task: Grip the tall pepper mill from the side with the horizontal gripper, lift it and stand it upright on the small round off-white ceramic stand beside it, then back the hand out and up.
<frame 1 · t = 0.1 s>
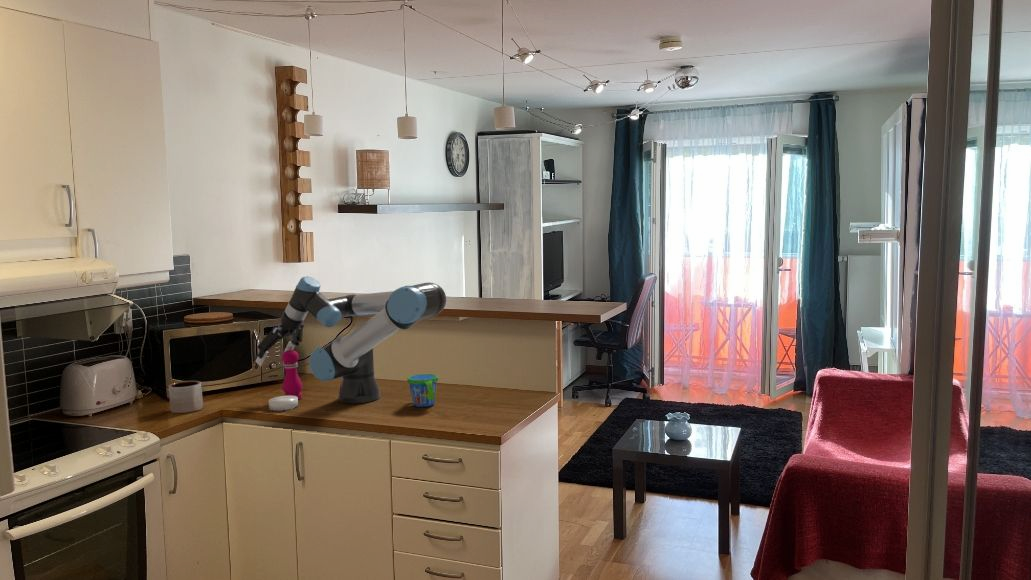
hand: (272, 360, 286), 15 cm above the countertop, tool tilted 35°, fingers open, 13 cm apart
pepper mill: (293, 399, 290), on the countertop, touching gripper
planter: (187, 410, 279), on the countertop
ceramic stand: (283, 407, 278), on the countertop
snack cup: (424, 405, 274), on the countertop
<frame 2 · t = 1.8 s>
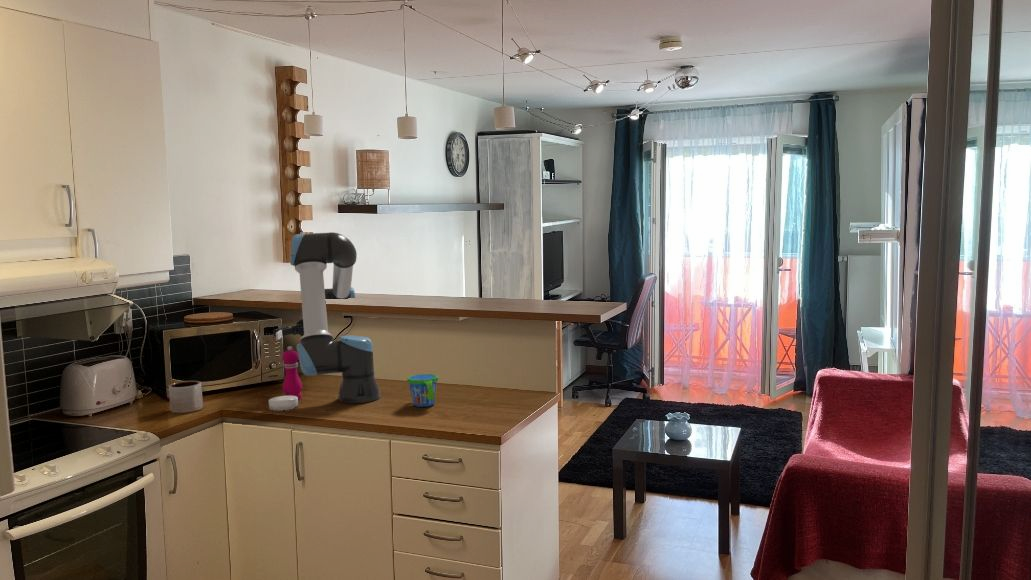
hand: (295, 335, 296), 22 cm above the countertop, tool horizontal, fingers open, 13 cm apart
pepper mill: (293, 399, 290), on the countertop
everything else where it was.
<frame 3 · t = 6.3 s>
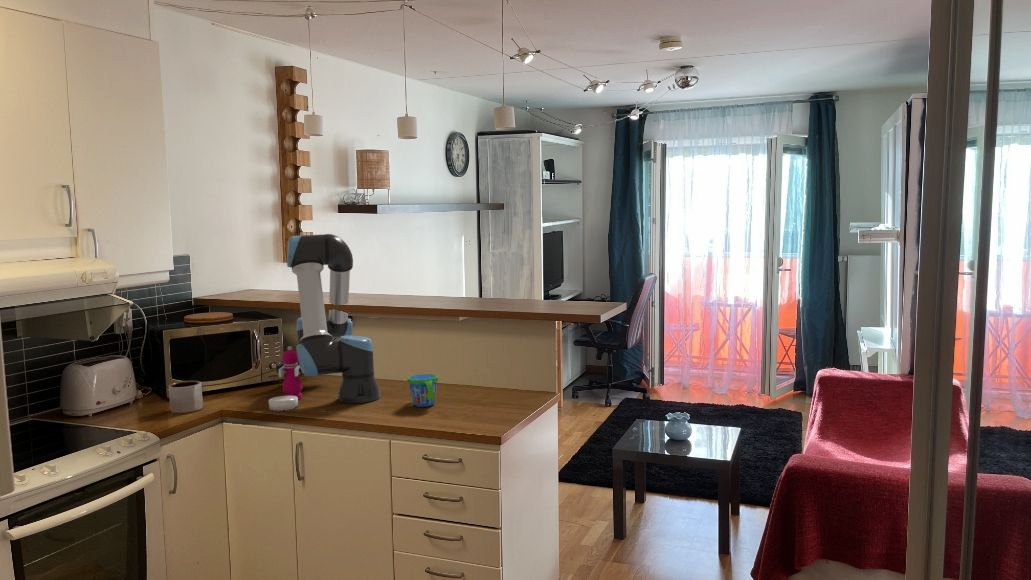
hand: (287, 373, 283), 11 cm above the countertop, tool horizontal, fingers closed on pepper mill, 5 cm apart
pepper mill: (293, 399, 290), on the countertop, touching gripper
everything else where it was.
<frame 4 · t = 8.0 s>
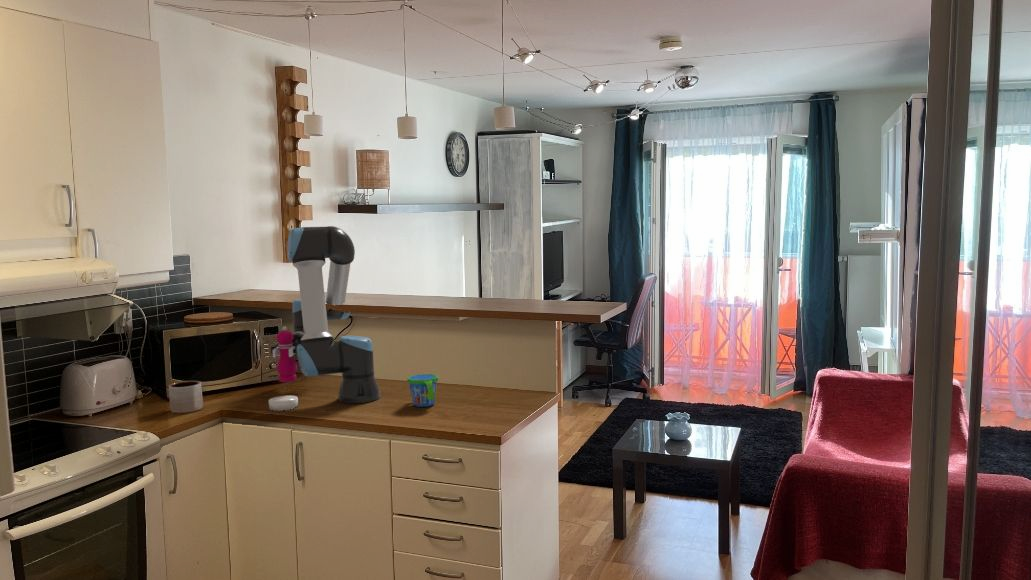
hand: (281, 353, 279), 19 cm above the countertop, tool horizontal, fingers closed on pepper mill, 5 cm apart
pepper mill: (287, 380, 285), point 8 cm above the countertop, touching gripper
everything else where it was.
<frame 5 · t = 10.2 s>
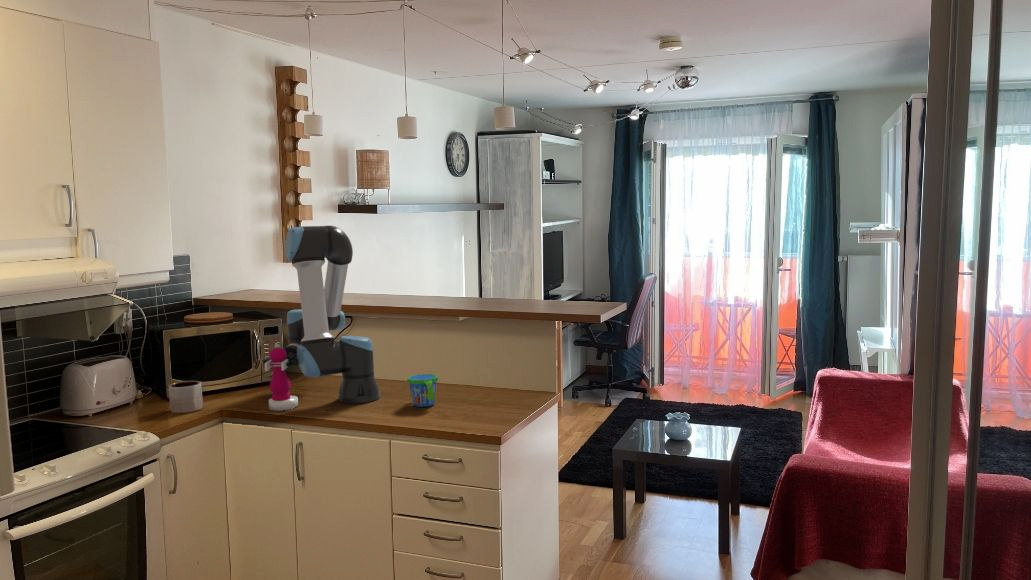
hand: (274, 366, 271), 16 cm above the countertop, tool horizontal, fingers closed on pepper mill, 5 cm apart
pepper mill: (281, 399, 278), point 3 cm above the countertop, touching gripper
everything else where it was.
when the fingers open (16 cm above the countertop, at t = 11.1 s): pepper mill stays where it is, resting on ceramic stand.
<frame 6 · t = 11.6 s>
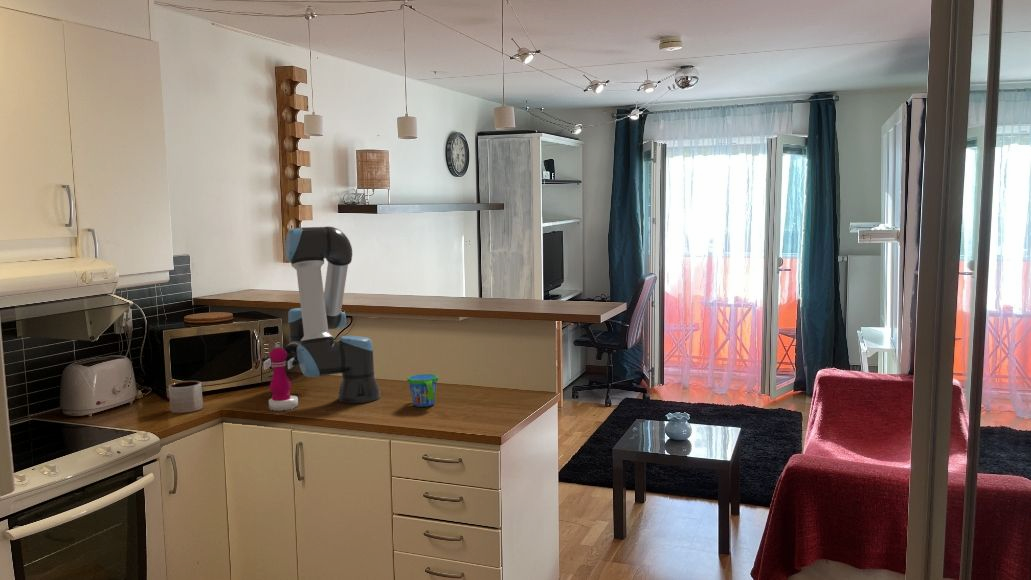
hand: (276, 365, 275), 15 cm above the countertop, tool horizontal, fingers open, 8 cm apart
pepper mill: (281, 399, 278), point 3 cm above the countertop, touching ceramic stand
everything else where it was.
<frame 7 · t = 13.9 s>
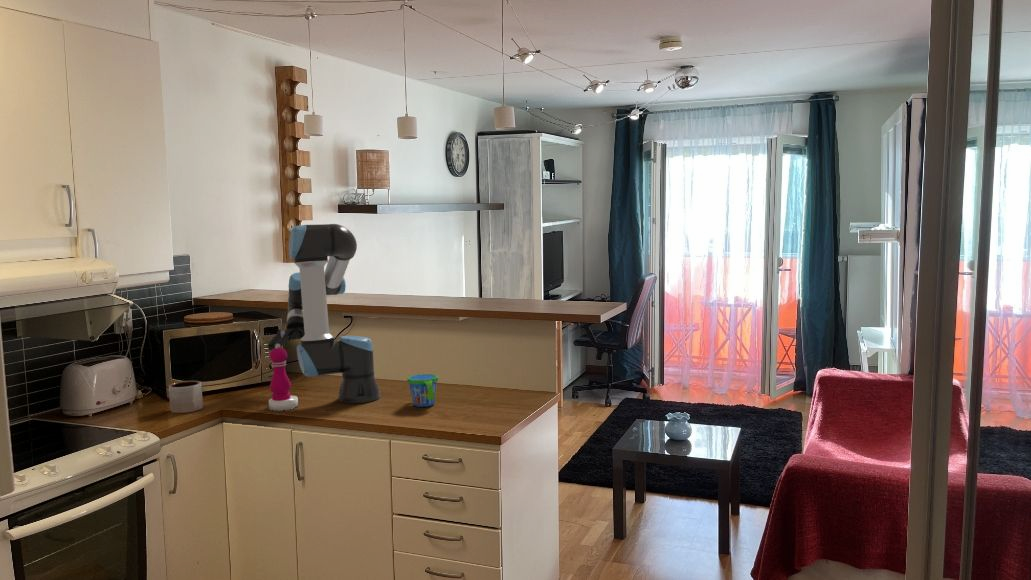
hand: (294, 357, 291), 15 cm above the countertop, tool tilted 60°, fingers open, 13 cm apart
nothing on the countertop moved.
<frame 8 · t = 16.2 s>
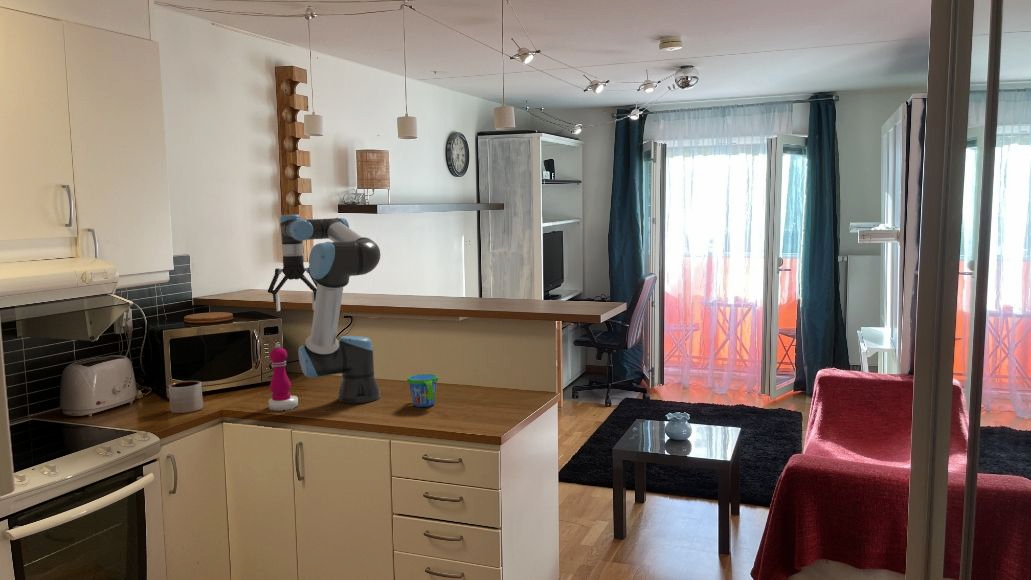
hand: (296, 310, 298), 32 cm above the countertop, tool pointing down, fingers open, 13 cm apart
nothing on the countertop moved.
at the end: pepper mill 1.0 cm off-centre on the ceramic stand, point 2.8 cm above the ceramic stand's base; pepper mill tilted 0°; the gripper is holding nothing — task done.
